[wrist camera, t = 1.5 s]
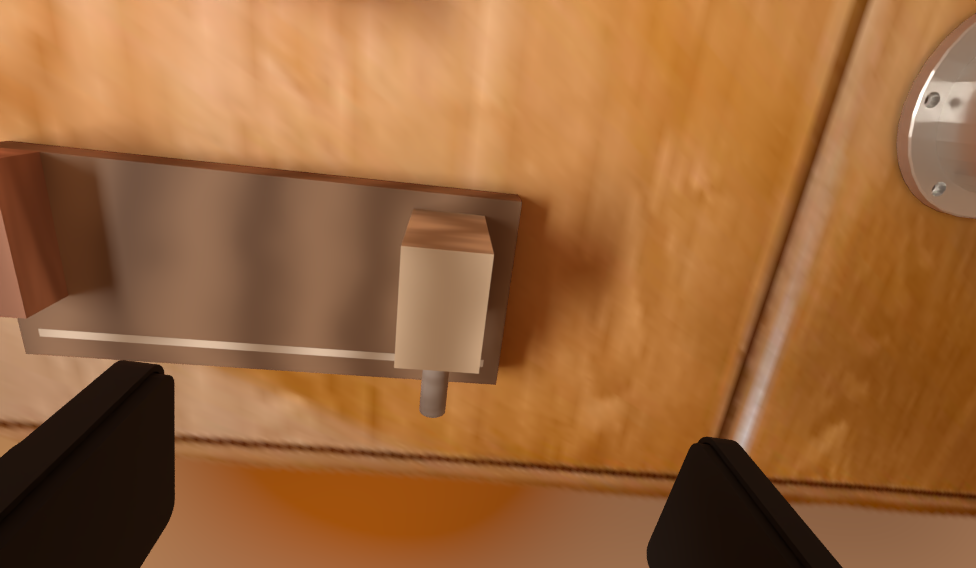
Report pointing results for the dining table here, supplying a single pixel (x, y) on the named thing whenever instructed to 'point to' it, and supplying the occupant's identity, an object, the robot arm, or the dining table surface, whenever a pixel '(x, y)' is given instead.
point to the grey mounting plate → (221, 261)
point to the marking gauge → (442, 299)
